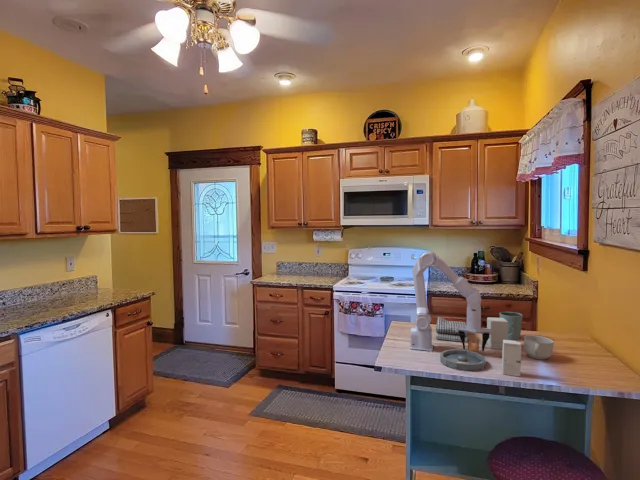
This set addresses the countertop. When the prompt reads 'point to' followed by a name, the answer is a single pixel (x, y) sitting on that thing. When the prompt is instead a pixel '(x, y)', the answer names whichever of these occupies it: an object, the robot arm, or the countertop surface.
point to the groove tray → (462, 360)
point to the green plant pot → (513, 324)
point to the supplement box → (497, 332)
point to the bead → (473, 346)
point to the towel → (449, 330)
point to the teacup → (538, 346)
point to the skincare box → (511, 357)
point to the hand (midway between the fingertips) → (473, 349)
